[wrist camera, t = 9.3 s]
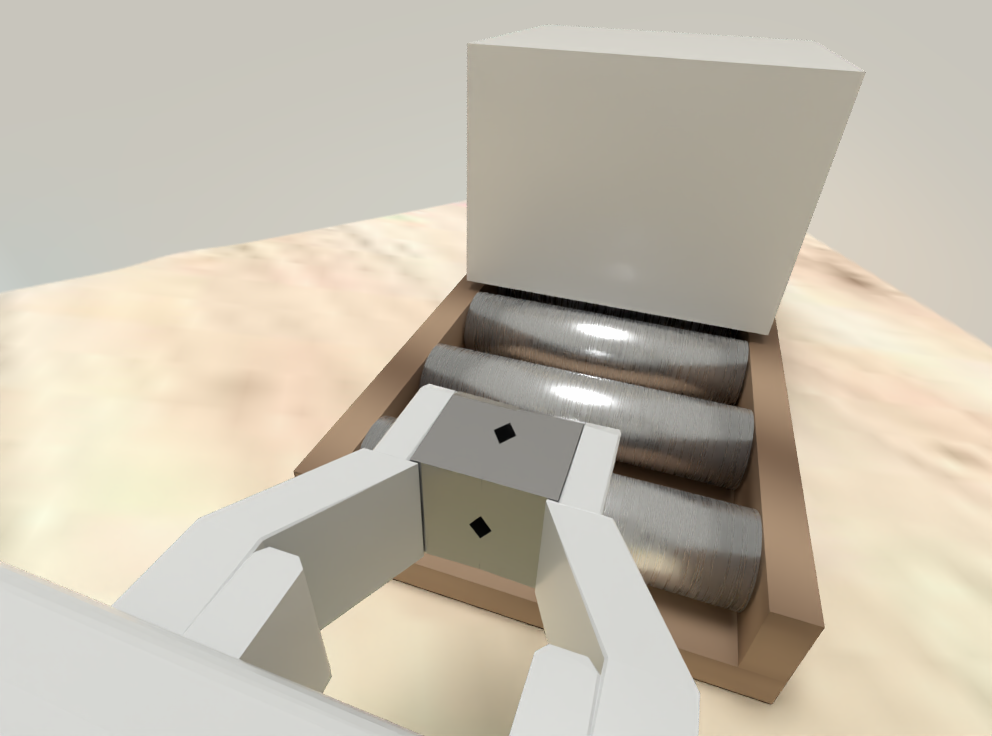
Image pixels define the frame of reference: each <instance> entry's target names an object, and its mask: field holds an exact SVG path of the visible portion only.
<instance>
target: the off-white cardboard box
mask: <svg viewBox="0 0 992 736" xmlns="http://www.w3.org/2000/svg"><path fill="white" fill-rule="evenodd" d="M865 73H866V72H865V71H863V70H862V69H860V68H858V67H857V66H855V65H853V64H852V63H850V62H849V61H847V60H845V59H844V58H842V57H840V56H839V55H837V54H836V53H834V52H832V51H831V50H829V49H827V48H826V47H824V46H823V45H821V44H819V43H817V42H816V41H808V40H792V39H776V38H775V39H774V38H760V37H743V36H727V35H711V34H694V33H678V32H662V31H645V30H629V29H612V28H595V27H580V26H564V25H543V26H539V27H535V28H530V29H526V30H522V31H518V32H513V33H509V34H505V35H500V36H496V37H492V38H488V39H483V40H479V41H475V42H471V43H468V44H467V281H473V282H478V283H484V284H489V285H495V286H500V287H506V288H511V289H517V290H522V291H527V292H533V293H538V294H544V295H549V296H555V297H560V298H566V299H571V300H577V301H582V302H588V303H593V304H599V305H604V306H610V307H615V308H621V309H626V310H632V311H637V312H643V313H648V314H654V315H659V316H665V317H670V318H676V319H681V320H687V321H692V322H698V323H703V324H709V325H714V326H720V327H725V328H731V329H736V330H742V331H747V332H752V333H758V334H763V335H768V334H769V332H770V329H771V326H772V324H773V321H774V318H775V316H776V313H777V310H778V307H779V305H780V302H781V299H782V297H783V294H784V291H785V289H786V286H787V283H788V280H789V278H790V275H791V272H792V270H793V267H794V264H795V262H796V259H797V256H798V254H799V251H800V248H801V245H802V243H803V240H804V237H805V235H806V232H807V229H808V227H809V224H810V221H811V218H812V216H813V213H814V210H815V208H816V205H817V202H818V200H819V197H820V194H821V192H822V189H823V186H824V183H825V181H826V178H827V175H828V172H829V170H830V167H831V164H832V162H833V159H834V157H835V154H836V151H837V148H838V146H839V143H840V140H841V138H842V135H843V132H844V130H845V127H846V124H847V121H848V119H849V116H850V113H851V111H852V108H853V105H854V103H855V100H856V97H857V94H858V91H859V89H860V86H861V84H862V81H863V78H864V76H865Z"/></svg>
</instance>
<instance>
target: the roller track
mask: <svg viewBox="0 0 992 736" xmlns="http://www.w3.org/2000/svg"><path fill="white" fill-rule="evenodd" d="M427 384H432V385H436V386H440V387H443V388H447V389H451V390H455V391H457V392H459V391H460V392H464V393H468V394H472V395H475V396H479V397H483V398H487V399H491V400H494V401H498V402H502V403H506V404H509V405H513V406H517V407H520V408H524V409H528V410H533V411H537V412H541V413H545V414H550V415H554V416H558V417H562V418H567V419H571V420H575V421H579V422H584V423H592V424H596V425H601V426H605V427H610V428H615V429H619V430H620V432H621V437H620V442H619V446H618V451H617V455H616V460H615V464H614V469H613V474H612V478H611V483H610V487H609V492H608V496H607V501H606V505H605V510H604V514H603V515H604V516H607V517H610V518H613V519H614V521H615V523H616V525H617V527H618V529H619V531H620V533H621V535H622V537H623V539H624V541H625V543H626V545H627V547H628V549H629V551H630V553H631V555H632V557H633V559H634V561H635V563H636V565H637V567H638V569H639V571H640V574H641V576H642V578H643V580H644V582H645V584H646V586H647V588H648V590H649V592H650V594H651V596H652V598H653V600H654V602H655V604H656V606H657V608H658V610H659V612H660V614H661V616H662V618H663V620H664V622H665V624H666V626H667V628H668V630H669V632H670V634H671V636H672V638H673V640H674V642H675V644H676V646H677V648H678V650H679V652H680V654H681V656H682V658H683V660H684V662H685V664H686V666H687V668H688V670H689V672H690V674H691V676H692V678H694V679H697V680H700V681H703V682H706V683H709V684H712V685H715V686H718V687H721V688H724V689H727V690H730V691H733V692H736V693H739V694H742V695H745V696H749V697H752V698H755V699H758V700H761V701H764V702H767V703H770V704H773V702H774V701H775V699H776V698H777V696H778V695H779V693H780V692H781V691H782V689H783V688H784V686H785V685H786V683H787V682H788V680H789V679H790V677H791V676H792V674H793V673H794V672H795V670H796V669H797V667H798V666H799V664H800V663H801V661H802V660H803V658H804V657H805V655H806V654H807V653H808V651H809V650H810V648H811V647H812V645H813V644H814V642H815V641H816V639H817V638H818V637H819V635H820V634H821V632H822V631H823V629H824V628H825V627H824V620H823V614H822V608H821V601H820V595H819V589H818V583H817V576H816V570H815V564H814V558H813V551H812V545H811V539H810V533H809V526H808V520H807V514H806V508H805V501H804V495H803V489H802V483H801V476H800V470H799V464H798V458H797V451H796V445H795V439H794V433H793V426H792V420H791V414H790V408H789V401H788V395H787V389H786V383H785V376H784V370H783V364H782V358H781V351H780V345H779V339H778V333H777V326H776V320H775V318H774V321H773V324H772V326H771V329H770V332H769V334H768V335H763V334H758V333H752V332H747V331H742V330H736V329H731V328H725V327H720V326H714V325H709V324H703V323H698V322H692V321H687V320H681V319H676V318H670V317H665V316H659V315H654V314H648V313H643V312H637V311H632V310H626V309H621V308H615V307H610V306H604V305H599V304H593V303H588V302H582V301H577V300H571V299H566V298H560V297H555V296H549V295H544V294H538V293H533V292H527V291H522V290H517V289H511V288H506V287H500V286H495V285H489V284H484V283H478V282H473V281H467V274H466V275H465V276H464V278H463V279H462V280H461V281H460V282H459V283H458V284H457V286H456V287H455V288H454V289H453V290H452V291H451V292H450V294H449V295H448V296H447V297H446V298H445V299H444V300H443V302H442V303H441V304H440V305H439V306H438V307H437V308H436V309H435V311H434V312H433V313H432V314H431V315H430V316H429V317H428V319H427V320H426V321H425V322H424V323H423V324H422V325H421V327H420V328H419V329H418V330H417V331H416V332H415V333H414V335H413V336H412V337H411V338H410V339H409V340H408V341H407V343H406V344H405V345H404V346H403V347H402V348H401V349H400V350H399V352H398V353H397V354H396V355H395V356H394V357H393V358H392V360H391V361H390V362H389V363H388V364H387V365H386V366H385V368H384V369H383V370H382V371H381V372H380V373H379V374H378V376H377V377H376V378H375V379H374V380H373V381H372V382H371V384H370V385H369V386H368V387H367V388H366V389H365V390H364V391H363V393H362V394H361V395H360V396H359V397H358V398H357V399H356V401H355V402H354V403H353V404H352V405H351V406H350V407H349V409H348V410H347V411H346V412H345V413H344V414H343V415H342V417H341V418H340V419H339V420H338V421H337V422H336V423H335V425H334V426H333V427H332V428H331V429H330V430H329V431H328V432H327V434H326V435H325V436H324V437H323V438H322V439H321V440H320V442H319V443H318V444H317V445H316V446H315V447H314V448H313V450H312V451H311V452H310V453H309V454H308V455H307V456H306V458H305V459H304V460H303V461H302V462H301V463H300V464H299V466H298V467H297V468H296V469H295V470H294V475H295V477H297V476H299V475H301V474H304V473H306V472H308V471H311V470H313V469H315V468H318V467H320V466H322V465H325V464H327V463H330V462H332V461H334V460H337V459H339V458H341V457H344V456H346V455H348V454H351V453H353V452H355V451H358V450H360V449H362V448H365V449H369V450H373V449H374V448H375V447H376V445H377V444H378V443H379V441H380V440H381V439H382V438H383V436H384V435H385V434H386V432H387V431H388V430H389V428H390V427H391V426H392V425H393V423H394V422H395V421H396V419H397V418H398V417H399V415H400V414H401V413H402V412H403V410H404V409H405V408H406V406H407V405H408V404H409V402H410V401H411V400H412V399H413V397H414V396H415V395H416V393H417V392H418V391H419V389H420V388H421V387H423V386H425V385H427ZM393 579H396V580H399V581H402V582H405V583H408V584H411V585H414V586H417V587H420V588H423V589H426V590H429V591H432V592H435V593H438V594H441V595H444V596H447V597H450V598H453V599H456V600H459V601H462V602H465V603H468V604H471V605H474V606H477V607H480V608H483V609H486V610H489V611H492V612H495V613H498V614H501V615H504V616H507V617H510V618H513V619H516V620H519V621H522V622H525V623H528V624H531V625H534V626H537V627H540V628H543V629H544V626H543V622H542V618H541V614H540V610H539V606H538V602H537V599H536V595H535V588H532V587H529V586H526V585H523V584H520V583H518V582H515V581H512V580H509V579H506V578H503V577H501V576H498V575H495V574H492V573H489V572H486V571H484V570H481V569H480V568H479V569H478V568H474V567H471V566H468V565H464V564H461V563H457V562H454V561H451V560H447V559H444V558H440V557H437V556H434V555H430V554H427V553H424V557H422V558H421V559H419V560H418V561H417V562H415V563H414V564H413V565H411V566H410V567H408V568H407V569H406V570H404V571H403V572H401V573H400V574H399V575H397V576H396V577H394V578H393Z"/></svg>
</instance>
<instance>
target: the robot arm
mask: <svg viewBox="0 0 992 736" xmlns="http://www.w3.org/2000/svg"><path fill="white" fill-rule="evenodd" d="M620 437H621V432H620V430H619V429H615V428H610V427H605V426H601V425H596V424H592V423H584V422H579V421H575V420H571V419H567V418H562V417H558V416H554V415H550V414H545V413H541V412H537V411H533V410H528V409H524V408H520V407H517V406H513V405H509V404H506V403H502V402H498V401H494V400H491V399H487V398H483V397H479V396H475V395H472V394H468V393H464V392H460V391H459V392H457V391H455V390H451V389H447V388H443V387H440V386H436V385H432V384H427V385H425V386H423V387H421V388H420V389H419V391H418V392H417V393H416V395H415V396H414V397H413V399H412V400H411V401H410V402H409V404H408V405H407V406H406V408H405V409H404V410H403V412H402V413H401V414H400V415H399V417H398V418H397V419H396V421H395V422H394V423H393V425H392V426H391V427H390V428H389V430H388V431H387V432H386V434H385V435H384V436H383V438H382V439H381V440H380V441H379V443H378V444H377V445H376V447H375V448H374V449H373V450H369V449H365V448H362V449H360V450H358V451H355V452H353V453H351V454H348V455H346V456H344V457H341V458H339V459H337V460H334V461H332V462H330V463H327V464H325V465H322V466H320V467H318V468H315V469H313V470H311V471H308V472H306V473H304V474H301V475H299V476H297V477H294V478H292V479H290V480H287V481H285V482H283V483H280V484H278V485H276V486H273V487H271V488H269V489H266V490H264V491H261V492H259V493H257V494H254V495H252V496H250V497H247V498H245V499H243V500H240V501H238V502H236V503H233V504H231V505H229V506H226V507H224V508H222V509H219V510H217V511H215V512H212V513H210V514H208V515H205V516H203V517H200V518H198V519H197V520H196V521H195V522H194V523H193V524H192V525H191V526H190V527H189V528H188V529H187V530H186V531H185V532H184V533H183V534H182V535H181V536H180V537H179V538H178V539H177V540H176V541H175V542H174V543H173V544H172V545H171V546H170V547H169V548H168V549H167V550H166V551H165V552H164V553H163V554H162V555H161V556H160V557H159V558H158V559H157V560H156V561H155V563H154V564H153V565H152V566H151V567H150V568H149V569H148V570H147V571H146V572H145V573H144V574H143V575H142V576H141V577H140V578H139V579H138V580H137V581H136V582H135V583H134V584H133V585H132V586H131V587H130V588H129V589H128V590H127V591H126V592H125V593H124V594H123V595H122V596H121V597H120V598H119V599H118V600H117V601H116V602H115V603H114V604H113V605H112V606H109V605H107V604H104V603H102V602H99V601H97V600H95V599H92V598H90V597H87V596H85V595H82V594H80V593H78V592H75V591H73V590H70V589H68V588H65V587H63V586H61V585H58V584H56V583H53V582H51V581H49V580H46V579H44V578H41V577H39V576H36V575H34V574H32V573H29V572H27V571H24V570H22V569H19V568H17V567H15V566H12V565H10V564H7V563H5V562H2V561H0V736H424V735H421V734H419V733H416V732H414V731H412V730H409V729H407V728H404V727H402V726H400V725H397V724H395V723H392V722H390V721H387V720H385V719H383V718H380V717H378V716H375V715H373V714H371V713H368V712H366V711H363V710H361V709H358V708H356V707H354V706H351V705H349V704H346V703H344V702H342V701H339V700H337V699H334V698H332V697H329V696H327V695H325V694H322V693H323V692H324V690H325V688H326V686H327V684H328V683H329V681H330V679H331V677H332V675H331V670H330V664H329V661H328V657H327V654H326V650H325V646H324V643H323V639H322V636H321V632H320V630H322V629H323V628H324V627H326V626H327V625H329V624H330V623H331V622H333V621H334V620H336V619H337V618H338V617H340V616H341V615H343V614H344V613H345V612H347V611H348V610H350V609H351V608H352V607H354V606H355V605H357V604H358V603H359V602H361V601H362V600H364V599H365V598H366V597H368V596H369V595H371V594H372V593H373V592H375V591H376V590H378V589H379V588H380V587H382V586H383V585H385V584H386V583H387V582H389V581H390V580H392V579H393V578H394V577H396V576H397V575H399V574H400V573H401V572H403V571H404V570H406V569H407V568H408V567H410V566H411V565H413V564H414V563H415V562H417V561H418V560H419V559H421V558H422V557H424V553H427V554H430V555H434V556H437V557H440V558H444V559H447V560H451V561H454V562H457V563H461V564H464V565H468V566H471V567H474V568H478V569H479V568H480V569H481V570H484V571H486V572H489V573H492V574H495V575H498V576H501V577H503V578H506V579H509V580H512V581H515V582H518V583H520V584H523V585H526V586H529V587H532V588H535V595H536V599H537V602H538V606H539V610H540V614H541V618H542V622H543V626H544V630H545V634H546V638H547V642H548V645H546V646H544V647H542V648H541V649H539V650H537V651H535V653H534V656H533V659H532V663H531V666H530V669H529V672H528V676H527V679H526V682H525V685H524V689H523V692H522V695H521V698H520V702H519V705H518V708H517V711H516V715H515V718H514V721H513V724H512V728H511V731H510V734H509V736H698V733H699V707H700V692H699V690H698V688H697V686H696V684H695V682H694V680H693V678H692V676H691V674H690V672H689V670H688V668H687V666H686V664H685V662H684V660H683V658H682V656H681V654H680V652H679V650H678V648H677V646H676V644H675V642H674V640H673V638H672V636H671V634H670V632H669V630H668V628H667V626H666V624H665V622H664V620H663V618H662V616H661V614H660V612H659V610H658V608H657V606H656V604H655V602H654V600H653V598H652V596H651V594H650V592H649V590H648V588H647V586H646V584H645V582H644V580H643V578H642V576H641V574H640V571H639V569H638V567H637V565H636V563H635V561H634V559H633V557H632V555H631V553H630V551H629V549H628V547H627V545H626V543H625V541H624V539H623V537H622V535H621V533H620V531H619V529H618V527H617V525H616V523H615V521H614V519H613V518H610V517H607V516H604V515H603V514H604V510H605V505H606V501H607V496H608V492H609V487H610V483H611V478H612V474H613V469H614V464H615V460H616V455H617V451H618V446H619V442H620Z"/></svg>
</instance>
